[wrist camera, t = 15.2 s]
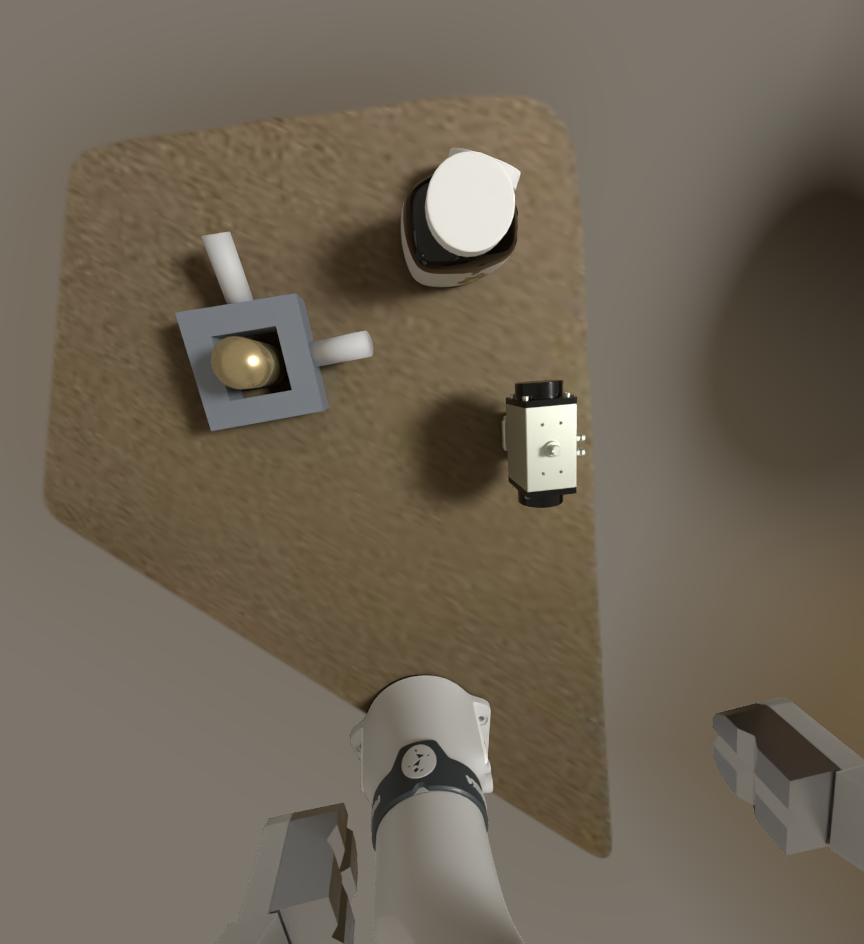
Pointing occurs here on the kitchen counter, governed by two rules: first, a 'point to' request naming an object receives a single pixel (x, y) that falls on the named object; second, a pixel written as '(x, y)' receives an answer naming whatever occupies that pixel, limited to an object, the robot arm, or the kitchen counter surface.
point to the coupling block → (252, 320)
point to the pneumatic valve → (541, 442)
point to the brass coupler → (247, 363)
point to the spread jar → (460, 220)
